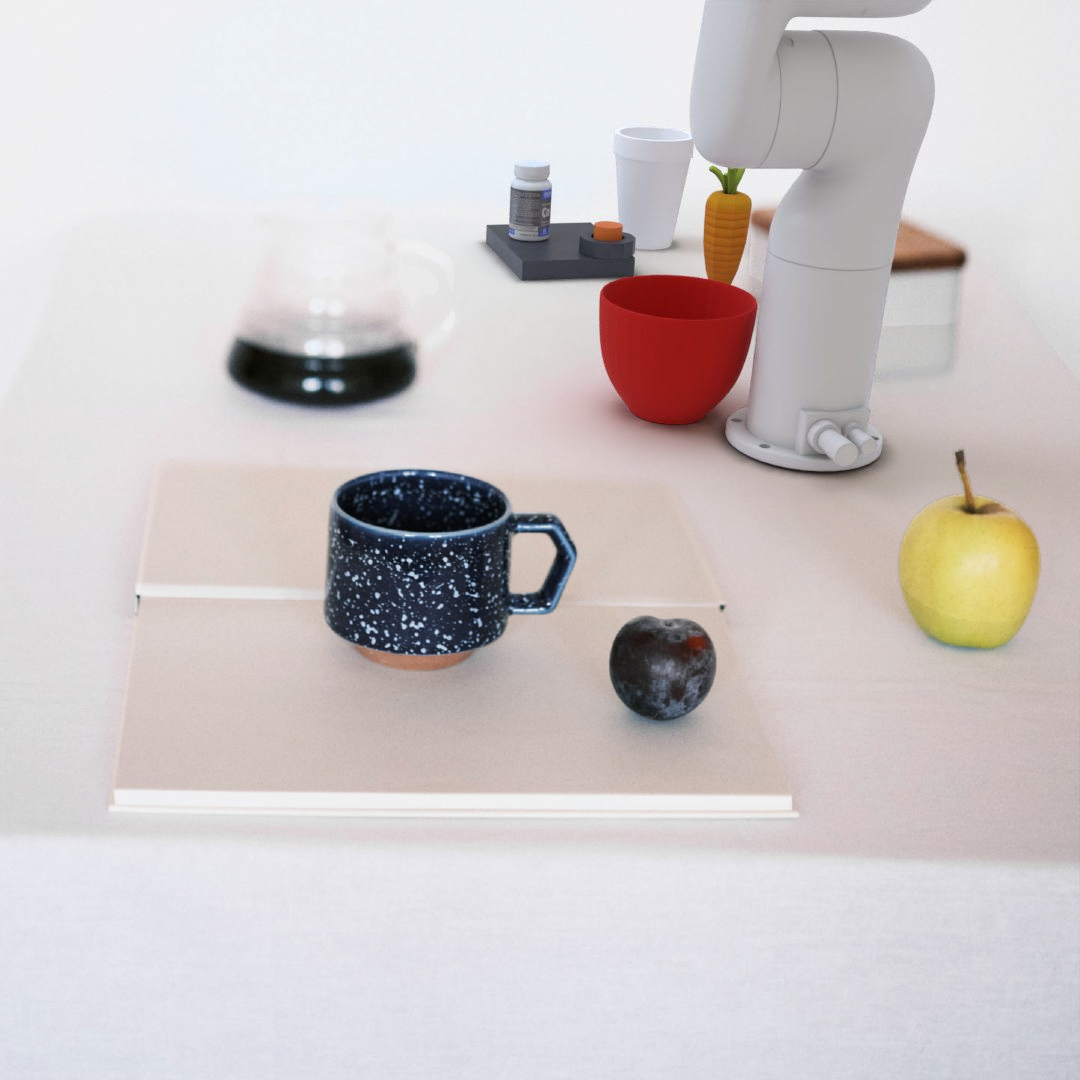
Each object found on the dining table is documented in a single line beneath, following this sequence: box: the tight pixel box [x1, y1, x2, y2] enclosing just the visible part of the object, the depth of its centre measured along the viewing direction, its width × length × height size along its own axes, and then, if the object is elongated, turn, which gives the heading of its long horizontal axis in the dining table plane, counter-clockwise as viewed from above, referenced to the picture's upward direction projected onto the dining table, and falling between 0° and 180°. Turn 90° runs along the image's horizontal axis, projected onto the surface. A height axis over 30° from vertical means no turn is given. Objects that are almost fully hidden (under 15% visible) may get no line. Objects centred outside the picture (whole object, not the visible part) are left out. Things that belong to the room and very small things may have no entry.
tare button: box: [593, 220, 623, 241], centre depth 153 cm, size 3×3×2 cm
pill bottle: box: [508, 159, 553, 241], centre depth 157 cm, size 5×5×8 cm
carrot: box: [702, 165, 753, 285], centre depth 144 cm, size 5×5×15 cm
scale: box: [485, 221, 636, 282], centre depth 158 cm, size 16×14×4 cm
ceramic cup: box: [598, 274, 758, 425], centre depth 117 cm, size 13×17×10 cm
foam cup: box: [612, 125, 695, 251], centre depth 164 cm, size 10×9×13 cm
